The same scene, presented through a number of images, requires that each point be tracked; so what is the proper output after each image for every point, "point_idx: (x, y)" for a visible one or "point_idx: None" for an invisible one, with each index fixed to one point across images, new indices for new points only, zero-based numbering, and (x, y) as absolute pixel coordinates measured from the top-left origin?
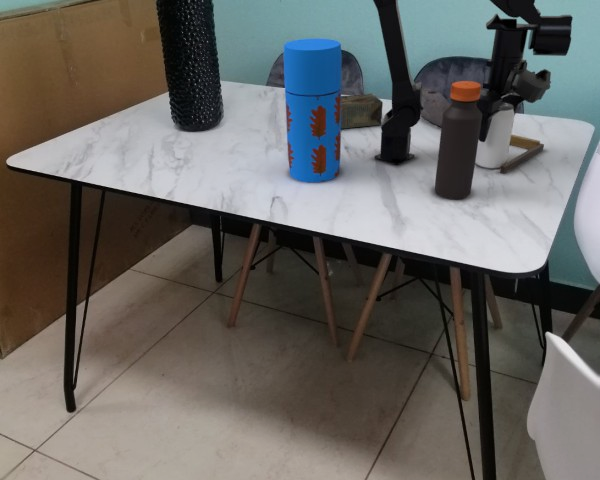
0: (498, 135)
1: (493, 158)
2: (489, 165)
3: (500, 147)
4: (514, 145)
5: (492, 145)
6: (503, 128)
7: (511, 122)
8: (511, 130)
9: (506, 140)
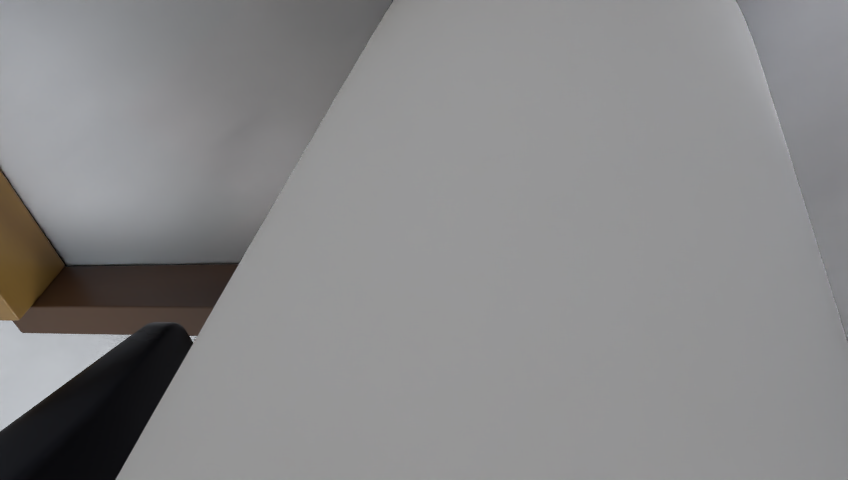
0: (795, 281)
1: (734, 31)
2: (740, 14)
3: (684, 69)
4: (5, 179)
5: (793, 191)
6: (748, 376)
7: (411, 422)
8: (367, 221)
9: (564, 97)
